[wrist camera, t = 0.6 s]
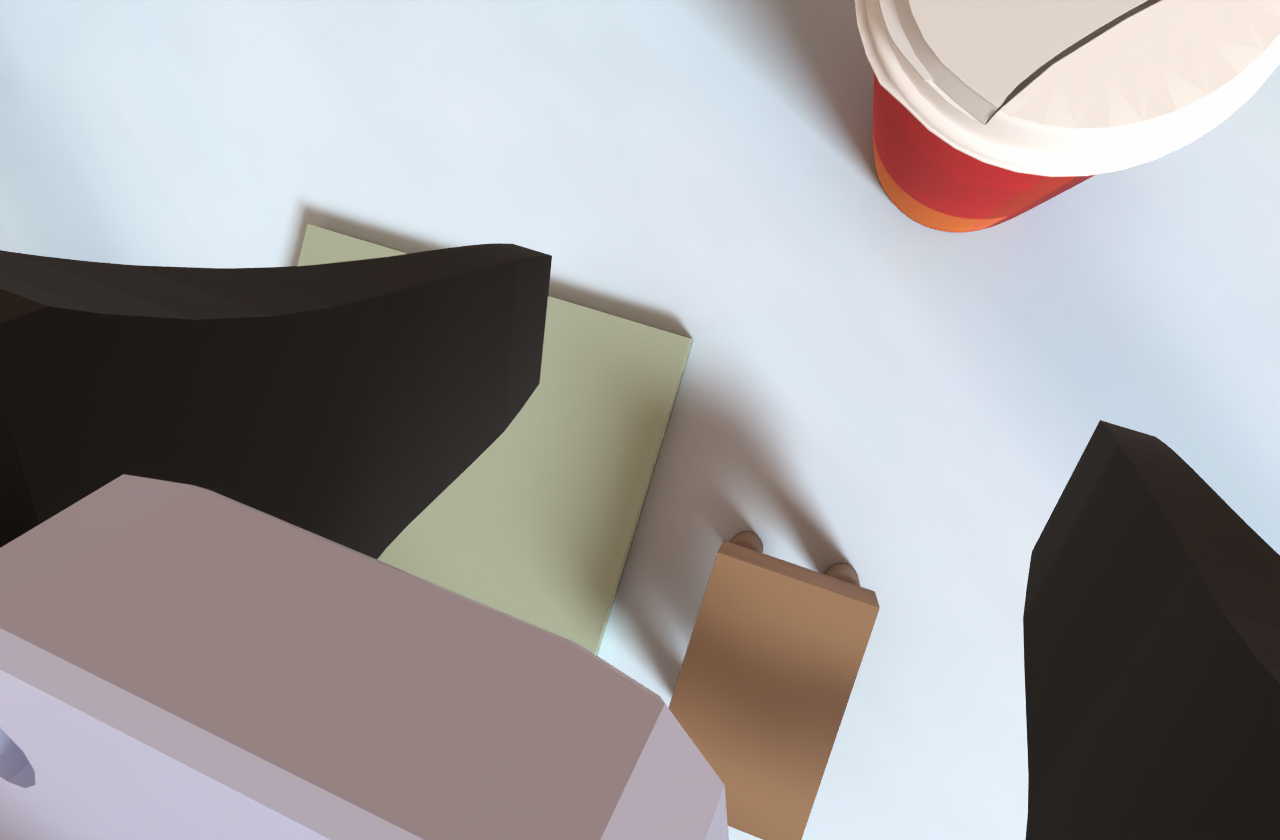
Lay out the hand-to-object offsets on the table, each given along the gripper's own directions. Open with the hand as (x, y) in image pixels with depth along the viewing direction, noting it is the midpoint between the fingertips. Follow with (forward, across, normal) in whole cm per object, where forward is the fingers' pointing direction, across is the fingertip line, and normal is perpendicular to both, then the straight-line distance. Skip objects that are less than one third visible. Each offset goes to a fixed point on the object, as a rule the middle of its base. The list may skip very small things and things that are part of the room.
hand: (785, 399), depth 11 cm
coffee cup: (+23, -1, +1) cm, 23 cm away
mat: (+15, +14, +15) cm, 25 cm away
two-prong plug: (+14, 0, +18) cm, 23 cm away
